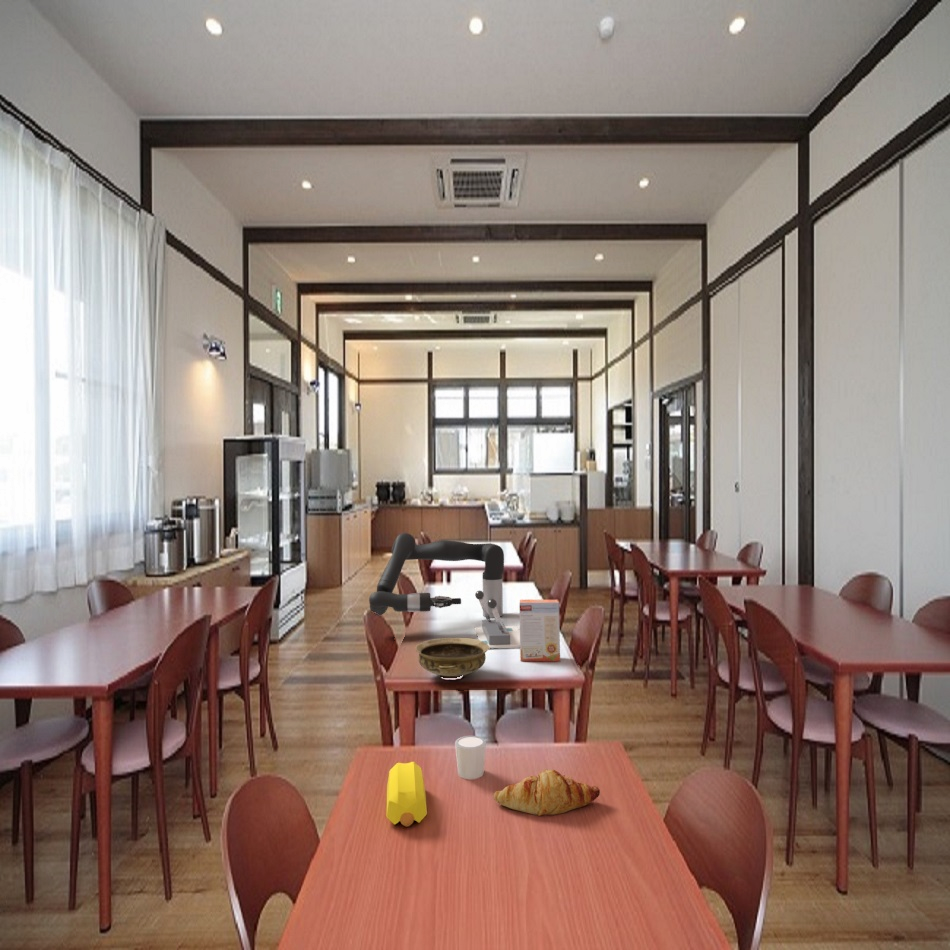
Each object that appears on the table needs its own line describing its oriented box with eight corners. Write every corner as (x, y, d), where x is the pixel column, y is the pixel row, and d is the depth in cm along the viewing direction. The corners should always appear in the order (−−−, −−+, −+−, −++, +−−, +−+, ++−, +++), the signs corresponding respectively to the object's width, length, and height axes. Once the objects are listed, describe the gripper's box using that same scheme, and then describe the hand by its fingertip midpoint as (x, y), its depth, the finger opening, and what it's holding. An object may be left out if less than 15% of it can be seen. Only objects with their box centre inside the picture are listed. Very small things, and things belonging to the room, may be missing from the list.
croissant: (495, 831, 122) (495, 805, 119) (491, 784, 131) (491, 759, 127) (603, 825, 123) (606, 799, 119) (592, 779, 132) (595, 753, 128)
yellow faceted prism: (423, 783, 135) (387, 786, 134) (423, 752, 135) (387, 754, 134) (427, 830, 117) (386, 834, 116) (427, 794, 117) (385, 798, 116)
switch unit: (474, 629, 265) (474, 619, 265) (516, 628, 267) (516, 617, 267) (482, 649, 235) (482, 637, 235) (529, 647, 237) (529, 635, 237)
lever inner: (484, 621, 262) (473, 591, 261) (492, 618, 262) (481, 588, 261) (485, 623, 258) (474, 593, 257) (494, 620, 258) (482, 590, 258)
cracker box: (559, 657, 225) (559, 598, 225) (560, 662, 219) (559, 602, 219) (520, 656, 226) (519, 598, 226) (520, 661, 220) (519, 602, 220)
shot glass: (462, 783, 134) (462, 750, 134) (450, 769, 140) (450, 738, 140) (491, 776, 137) (491, 744, 137) (478, 763, 143) (478, 733, 143)
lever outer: (497, 632, 244) (485, 600, 243) (506, 628, 244) (494, 596, 244) (499, 634, 240) (486, 602, 240) (507, 631, 241) (495, 598, 240)
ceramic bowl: (483, 694, 188) (483, 661, 188) (405, 691, 191) (405, 659, 191) (493, 663, 218) (493, 635, 218) (425, 662, 221) (425, 633, 221)
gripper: (418, 596, 250) (462, 595, 252) (418, 590, 264) (459, 589, 265) (419, 615, 250) (462, 613, 252) (418, 608, 264) (459, 606, 265)
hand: (460, 601), depth 259 cm, fingers closed
